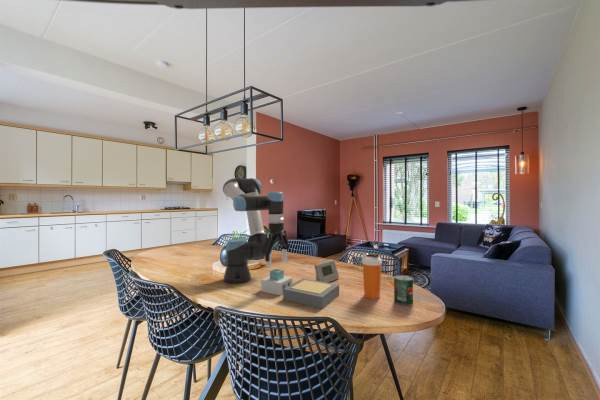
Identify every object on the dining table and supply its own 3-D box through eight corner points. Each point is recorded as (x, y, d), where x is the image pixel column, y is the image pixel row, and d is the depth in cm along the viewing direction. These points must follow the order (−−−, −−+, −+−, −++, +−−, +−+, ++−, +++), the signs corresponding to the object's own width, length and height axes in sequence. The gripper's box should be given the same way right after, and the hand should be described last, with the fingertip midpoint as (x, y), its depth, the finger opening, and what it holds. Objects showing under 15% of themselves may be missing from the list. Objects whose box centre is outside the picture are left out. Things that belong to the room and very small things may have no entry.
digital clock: (319, 286, 142) (319, 266, 142) (310, 281, 150) (309, 262, 149) (343, 280, 151) (343, 261, 151) (332, 276, 158) (332, 258, 158)
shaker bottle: (378, 301, 121) (378, 256, 120) (359, 297, 126) (359, 254, 125) (384, 295, 128) (384, 253, 128) (365, 291, 133) (365, 251, 133)
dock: (283, 299, 124) (283, 288, 124) (303, 287, 139) (302, 277, 139) (322, 308, 114) (322, 296, 114) (339, 295, 129) (339, 284, 129)
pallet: (261, 291, 136) (261, 279, 135) (273, 285, 144) (273, 274, 144) (281, 295, 129) (280, 283, 129) (292, 289, 138) (292, 277, 138)
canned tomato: (392, 298, 124) (392, 274, 124) (410, 298, 123) (409, 274, 123) (396, 305, 116) (396, 280, 116) (415, 306, 115) (415, 280, 115)
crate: (269, 279, 136) (269, 271, 136) (275, 276, 140) (275, 268, 140) (278, 280, 133) (277, 272, 133) (283, 277, 138) (283, 270, 137)
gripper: (266, 225, 123) (267, 271, 124) (295, 220, 145) (296, 260, 145) (253, 224, 127) (254, 269, 127) (284, 220, 149) (284, 258, 149)
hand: (276, 264), depth 136 cm, fingers open, 13 cm apart
